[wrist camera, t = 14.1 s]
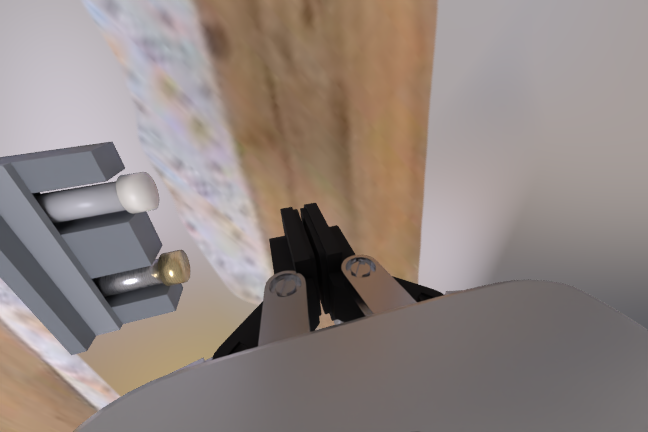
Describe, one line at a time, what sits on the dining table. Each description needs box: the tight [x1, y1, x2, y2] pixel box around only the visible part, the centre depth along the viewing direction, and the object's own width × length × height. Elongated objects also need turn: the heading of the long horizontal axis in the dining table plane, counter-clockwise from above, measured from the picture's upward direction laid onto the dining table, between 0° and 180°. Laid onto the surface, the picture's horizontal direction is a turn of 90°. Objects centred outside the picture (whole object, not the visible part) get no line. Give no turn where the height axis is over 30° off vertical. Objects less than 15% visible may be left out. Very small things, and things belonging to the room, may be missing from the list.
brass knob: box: [92, 250, 190, 297], centre depth 31 cm, size 4×10×4 cm, turn 96°
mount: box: [0, 142, 183, 355], centre depth 27 cm, size 20×10×7 cm, turn 6°
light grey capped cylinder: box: [33, 172, 159, 223], centre depth 26 cm, size 4×10×4 cm, turn 96°
